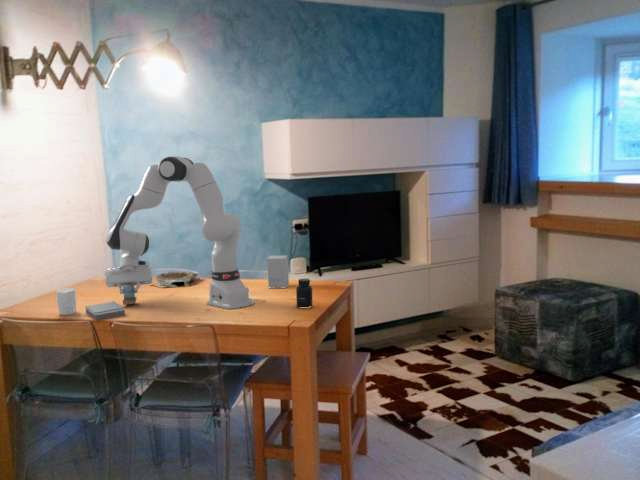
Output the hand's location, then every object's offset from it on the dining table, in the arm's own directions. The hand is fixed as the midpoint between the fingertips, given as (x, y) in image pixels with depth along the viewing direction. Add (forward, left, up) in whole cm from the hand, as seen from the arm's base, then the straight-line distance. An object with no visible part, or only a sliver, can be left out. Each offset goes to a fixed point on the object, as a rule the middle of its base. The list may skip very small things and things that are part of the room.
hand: (128, 292), depth 264 cm
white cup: (+6, +25, -6) cm, 26 cm away
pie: (+31, -36, -7) cm, 48 cm away
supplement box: (-15, -69, -6) cm, 71 cm away
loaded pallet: (+1, 0, -4) cm, 4 cm away
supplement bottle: (-56, -56, -6) cm, 80 cm away
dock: (-7, +13, -6) cm, 16 cm away
